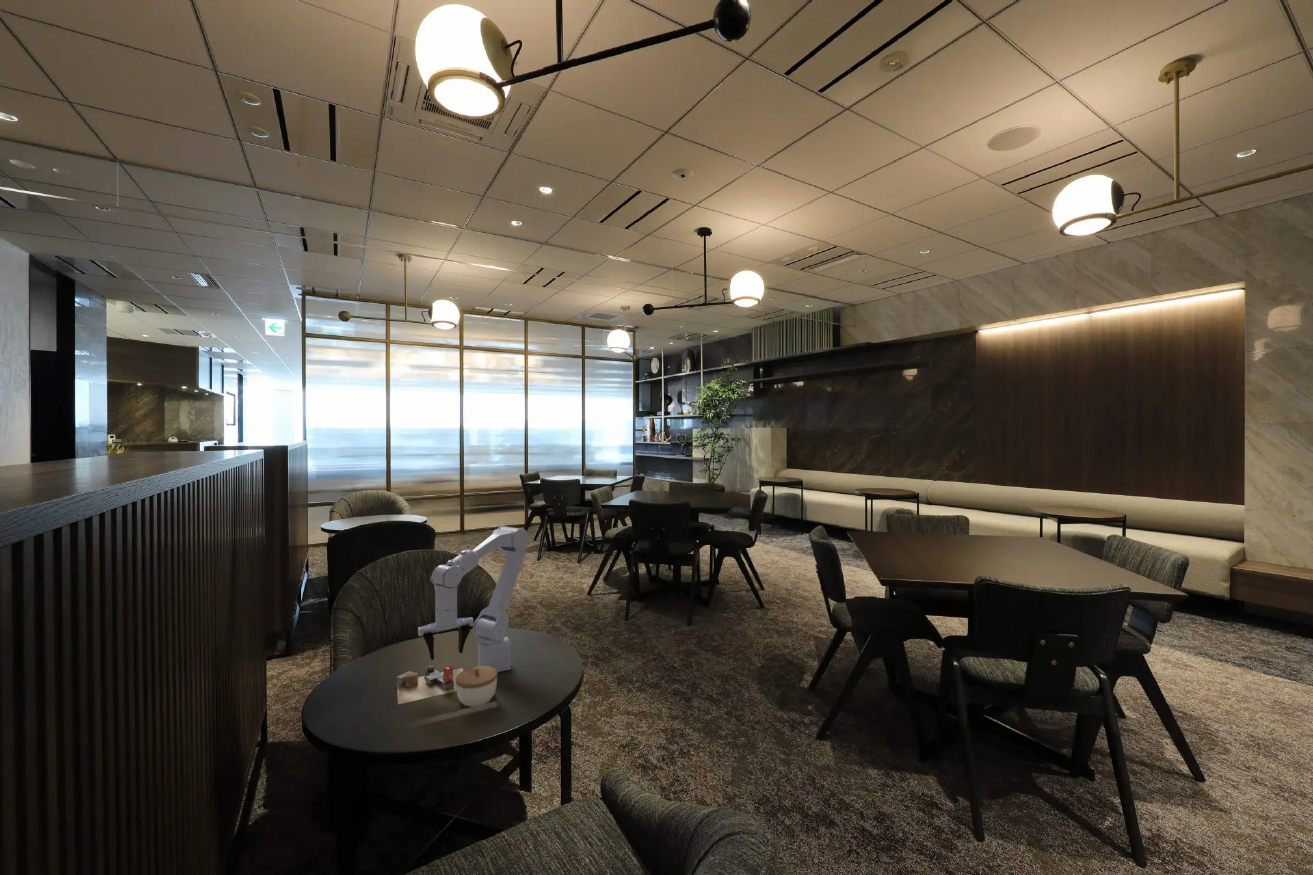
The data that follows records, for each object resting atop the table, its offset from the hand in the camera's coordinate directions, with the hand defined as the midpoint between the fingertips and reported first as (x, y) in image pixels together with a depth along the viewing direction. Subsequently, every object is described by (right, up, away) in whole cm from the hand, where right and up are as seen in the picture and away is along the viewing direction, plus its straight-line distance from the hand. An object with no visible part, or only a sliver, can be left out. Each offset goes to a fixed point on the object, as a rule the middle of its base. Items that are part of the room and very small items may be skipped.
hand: (446, 655), depth 145 cm
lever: (-4, -9, +2) cm, 9 cm away
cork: (-10, -9, 0) cm, 14 cm away
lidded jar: (+11, -10, -7) cm, 17 cm away
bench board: (-4, -10, +1) cm, 11 cm away
